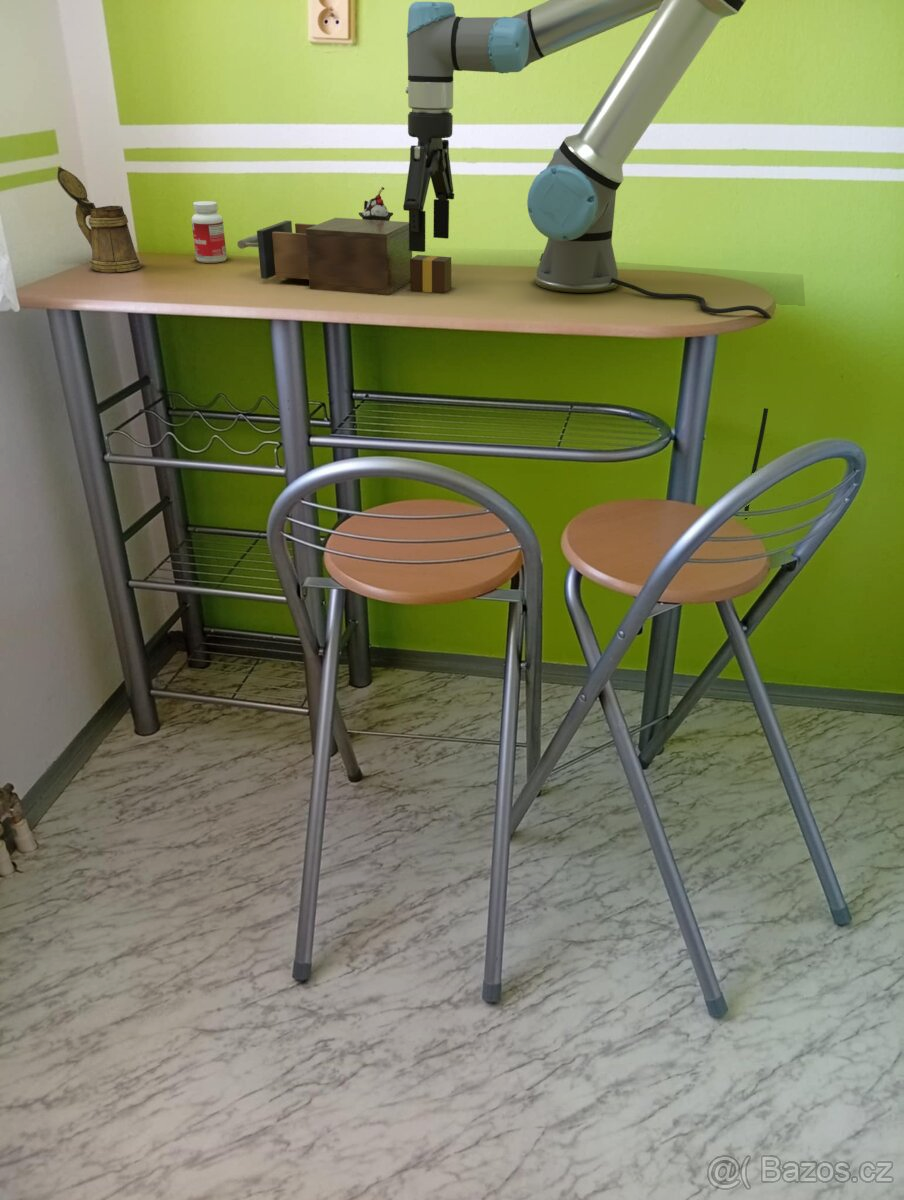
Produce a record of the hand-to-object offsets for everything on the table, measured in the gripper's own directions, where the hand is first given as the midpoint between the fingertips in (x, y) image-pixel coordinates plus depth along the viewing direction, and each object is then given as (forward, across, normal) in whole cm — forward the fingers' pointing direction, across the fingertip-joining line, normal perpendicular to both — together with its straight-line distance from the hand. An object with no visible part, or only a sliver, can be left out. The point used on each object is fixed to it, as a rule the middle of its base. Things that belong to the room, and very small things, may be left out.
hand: (429, 244), depth 169 cm
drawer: (+7, 0, -27) cm, 28 cm away
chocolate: (+8, 0, 0) cm, 8 cm away
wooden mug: (+9, +3, -66) cm, 67 cm away
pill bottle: (+9, -10, -50) cm, 52 cm away
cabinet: (+8, 0, -13) cm, 15 cm away
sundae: (+8, -15, -16) cm, 23 cm away
